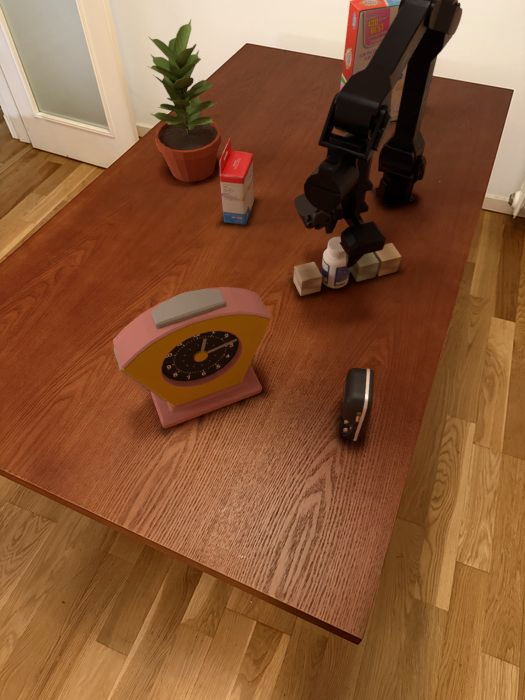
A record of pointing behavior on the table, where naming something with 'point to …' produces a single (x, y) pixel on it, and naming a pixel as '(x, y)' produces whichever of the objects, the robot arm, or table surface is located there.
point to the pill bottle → (334, 265)
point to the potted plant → (185, 113)
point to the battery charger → (356, 402)
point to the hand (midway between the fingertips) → (338, 249)
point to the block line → (365, 268)
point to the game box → (369, 40)
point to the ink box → (236, 185)
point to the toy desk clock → (195, 351)
